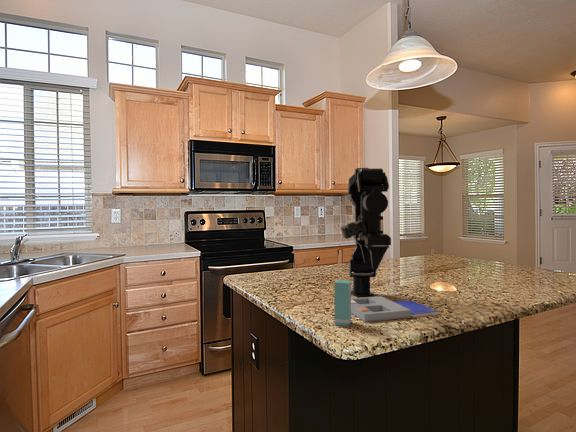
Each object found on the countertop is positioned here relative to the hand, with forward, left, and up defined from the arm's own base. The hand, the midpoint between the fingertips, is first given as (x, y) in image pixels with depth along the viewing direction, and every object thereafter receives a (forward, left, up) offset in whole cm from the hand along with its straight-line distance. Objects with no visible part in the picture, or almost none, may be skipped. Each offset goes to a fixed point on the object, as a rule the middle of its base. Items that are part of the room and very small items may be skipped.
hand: (370, 266), depth 105 cm
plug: (+8, -12, -13) cm, 19 cm away
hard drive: (+2, +13, -14) cm, 19 cm away
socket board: (0, +1, -13) cm, 13 cm away
